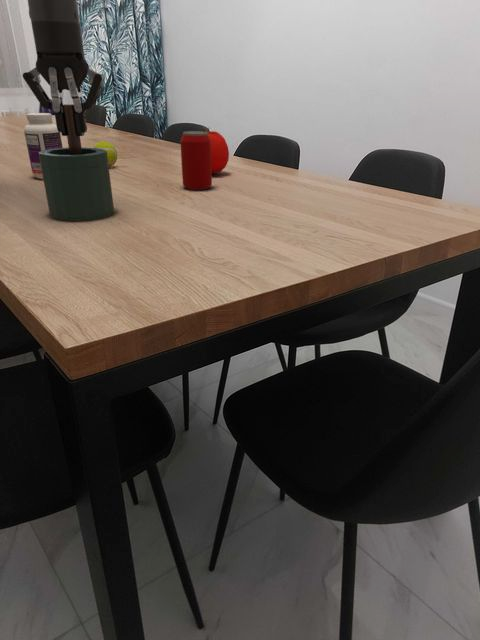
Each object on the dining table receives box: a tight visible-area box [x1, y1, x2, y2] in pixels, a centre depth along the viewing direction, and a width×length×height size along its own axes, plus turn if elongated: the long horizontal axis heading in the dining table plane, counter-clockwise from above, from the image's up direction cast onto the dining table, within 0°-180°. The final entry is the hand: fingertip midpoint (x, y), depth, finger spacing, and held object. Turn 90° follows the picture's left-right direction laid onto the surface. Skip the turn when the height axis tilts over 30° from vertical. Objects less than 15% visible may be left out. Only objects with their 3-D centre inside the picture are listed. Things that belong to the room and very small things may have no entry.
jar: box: [38, 146, 115, 222], centre depth 92 cm, size 11×11×11 cm
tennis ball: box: [93, 141, 118, 168], centre depth 138 cm, size 7×7×7 cm
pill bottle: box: [23, 112, 64, 180], centre depth 122 cm, size 8×8×14 cm
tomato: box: [201, 127, 230, 174], centre depth 131 cm, size 12×12×11 cm
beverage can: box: [179, 130, 213, 191], centre depth 115 cm, size 7×7×12 cm
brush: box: [62, 103, 82, 155], centre depth 91 cm, size 5×5×16 cm
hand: (73, 135), depth 90 cm, fingers closed on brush
